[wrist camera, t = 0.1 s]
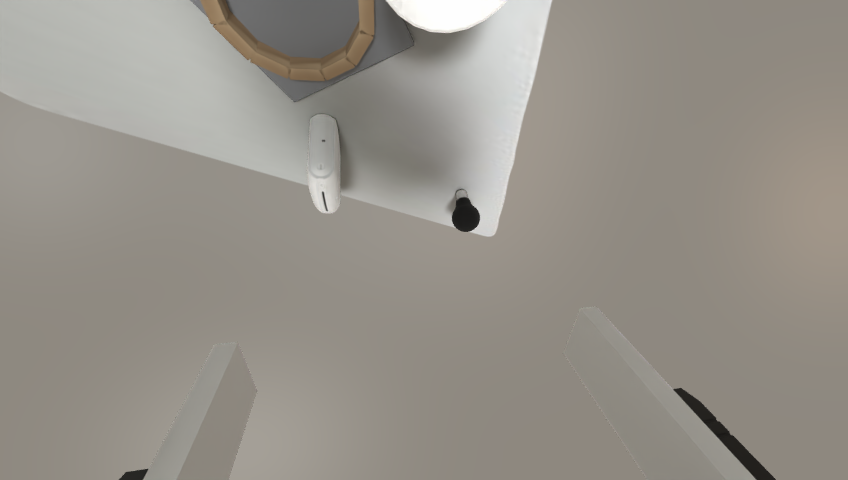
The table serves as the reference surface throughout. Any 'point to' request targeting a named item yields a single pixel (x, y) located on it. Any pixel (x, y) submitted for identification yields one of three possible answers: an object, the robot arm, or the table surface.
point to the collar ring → (285, 64)
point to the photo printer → (324, 163)
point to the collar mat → (317, 33)
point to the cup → (445, 13)
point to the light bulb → (465, 213)
